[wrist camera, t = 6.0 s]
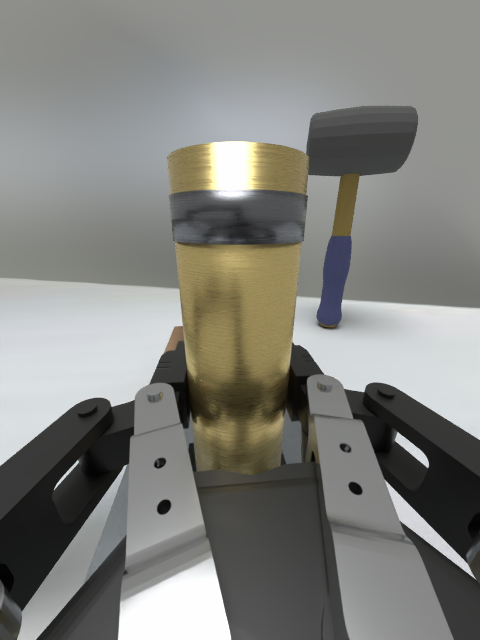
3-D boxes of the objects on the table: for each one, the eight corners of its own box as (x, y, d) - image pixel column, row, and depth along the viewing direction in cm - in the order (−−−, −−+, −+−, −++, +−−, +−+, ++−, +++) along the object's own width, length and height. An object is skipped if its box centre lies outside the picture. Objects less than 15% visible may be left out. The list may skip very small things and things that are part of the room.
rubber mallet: (359, 320, 44) (401, 116, 33) (372, 337, 37) (431, 88, 26) (290, 315, 46) (307, 123, 35) (291, 331, 39) (312, 98, 28)
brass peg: (199, 586, 12) (147, 138, 5) (203, 497, 15) (177, 175, 9) (282, 575, 12) (339, 144, 5) (266, 491, 16) (287, 177, 9)
